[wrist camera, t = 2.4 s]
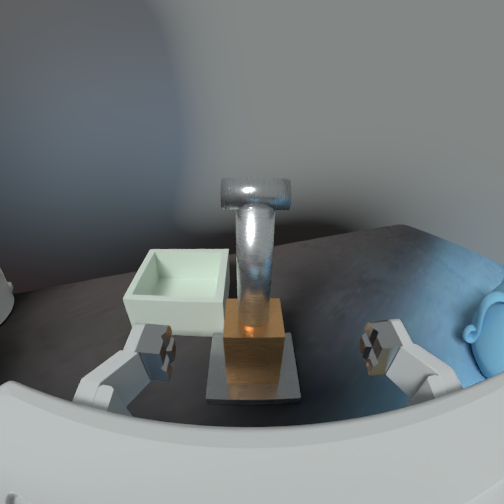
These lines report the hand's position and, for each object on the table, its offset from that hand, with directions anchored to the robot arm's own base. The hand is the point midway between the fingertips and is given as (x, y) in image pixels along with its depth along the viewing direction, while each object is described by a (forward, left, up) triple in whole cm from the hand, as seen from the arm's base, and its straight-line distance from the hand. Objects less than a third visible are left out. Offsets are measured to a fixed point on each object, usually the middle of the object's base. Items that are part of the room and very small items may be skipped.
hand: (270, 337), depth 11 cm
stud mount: (0, +12, -19) cm, 23 cm away
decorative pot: (+38, +7, -19) cm, 43 cm away
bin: (-10, +24, -19) cm, 33 cm away
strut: (0, +12, -18) cm, 22 cm away
